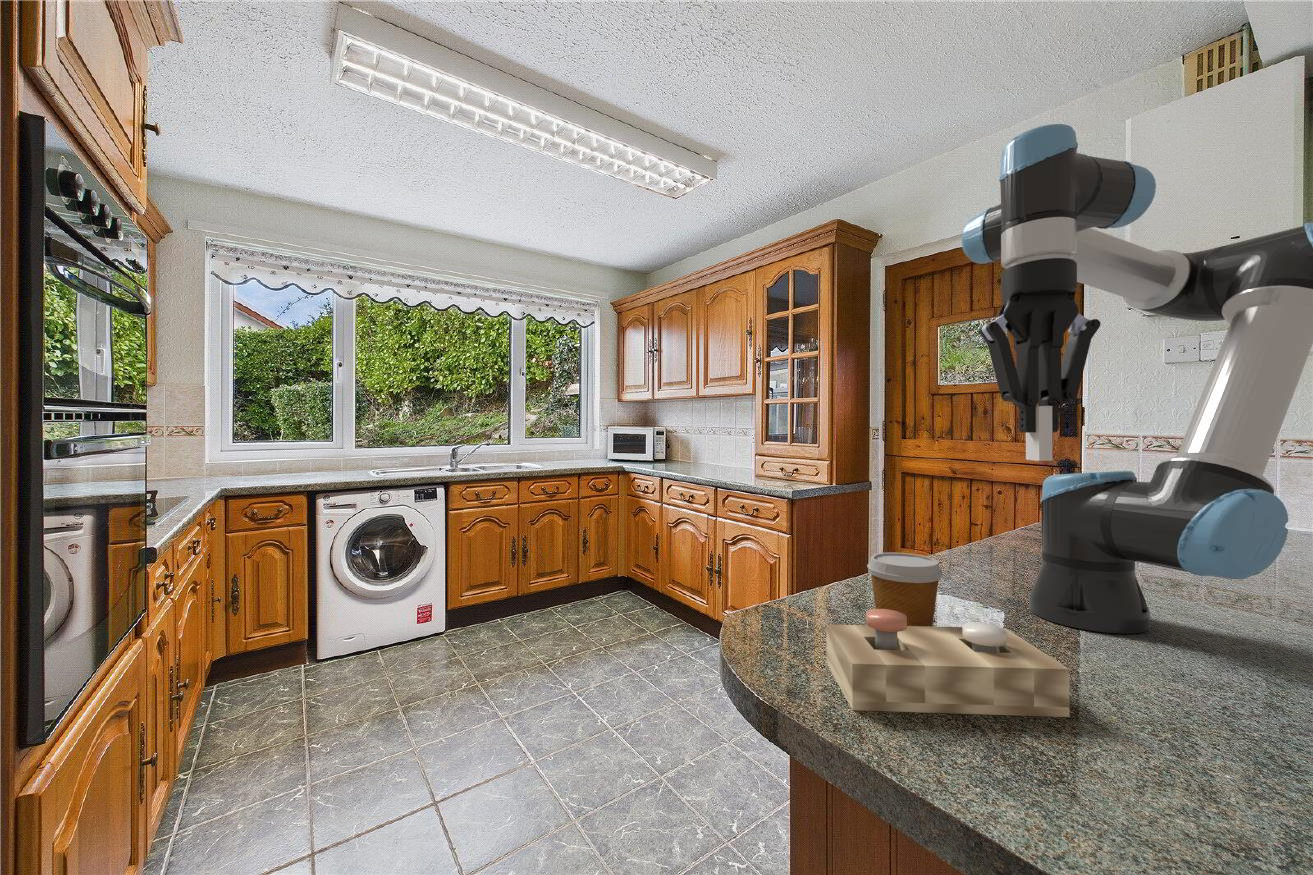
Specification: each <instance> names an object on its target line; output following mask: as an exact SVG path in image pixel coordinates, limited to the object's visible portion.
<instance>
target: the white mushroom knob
mask: <svg viewBox="0 0 1313 875" xmlns="http://www.w3.org/2000/svg"><path fill="white" fill-rule="evenodd" d="M961 627H962V636H963V638H964V639H966V640H967V641H969V642H972V650H973V651H974V652H995V653H996V647H999V646H1004V645H1006V644H1007V631H1006V630H1005V629H1003V628H1004V627H1001V626H998V625H995V624H992V623H987V622H978V621H977V622H975V621H974V622H972V621H969V622H965V623H963V624H962V625H961Z"/></svg>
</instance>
